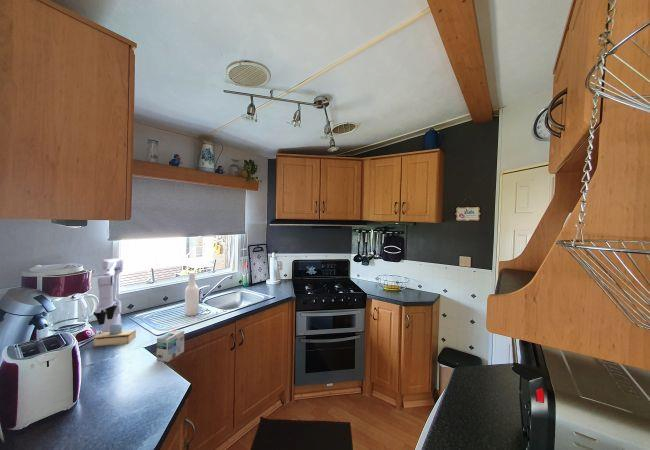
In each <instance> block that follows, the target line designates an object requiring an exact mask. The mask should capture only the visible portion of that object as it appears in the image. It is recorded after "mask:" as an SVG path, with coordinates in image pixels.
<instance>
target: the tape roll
mask: <svg viewBox="0 0 650 450" xmlns="http://www.w3.org/2000/svg"><path fill="white" fill-rule="evenodd" d="M122 325H123V323H122V322H121V323H114V324H111V325H110V332H109V335H116V334H120V333H122V331H123V330H122V329H123V326H122Z"/></svg>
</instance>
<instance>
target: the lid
mask: <svg viewBox="0 0 650 450" xmlns="http://www.w3.org/2000/svg"><path fill="white" fill-rule="evenodd" d="M135 331H136V332H137V330H136V329H130V330H129V329H128V330H122V333H120V334H116V335H109V332H103V333H98V334H97V335H94V336H93V339H95V338H101V337H113V336H126V335H130V334H131V333H133V332H135Z"/></svg>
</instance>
